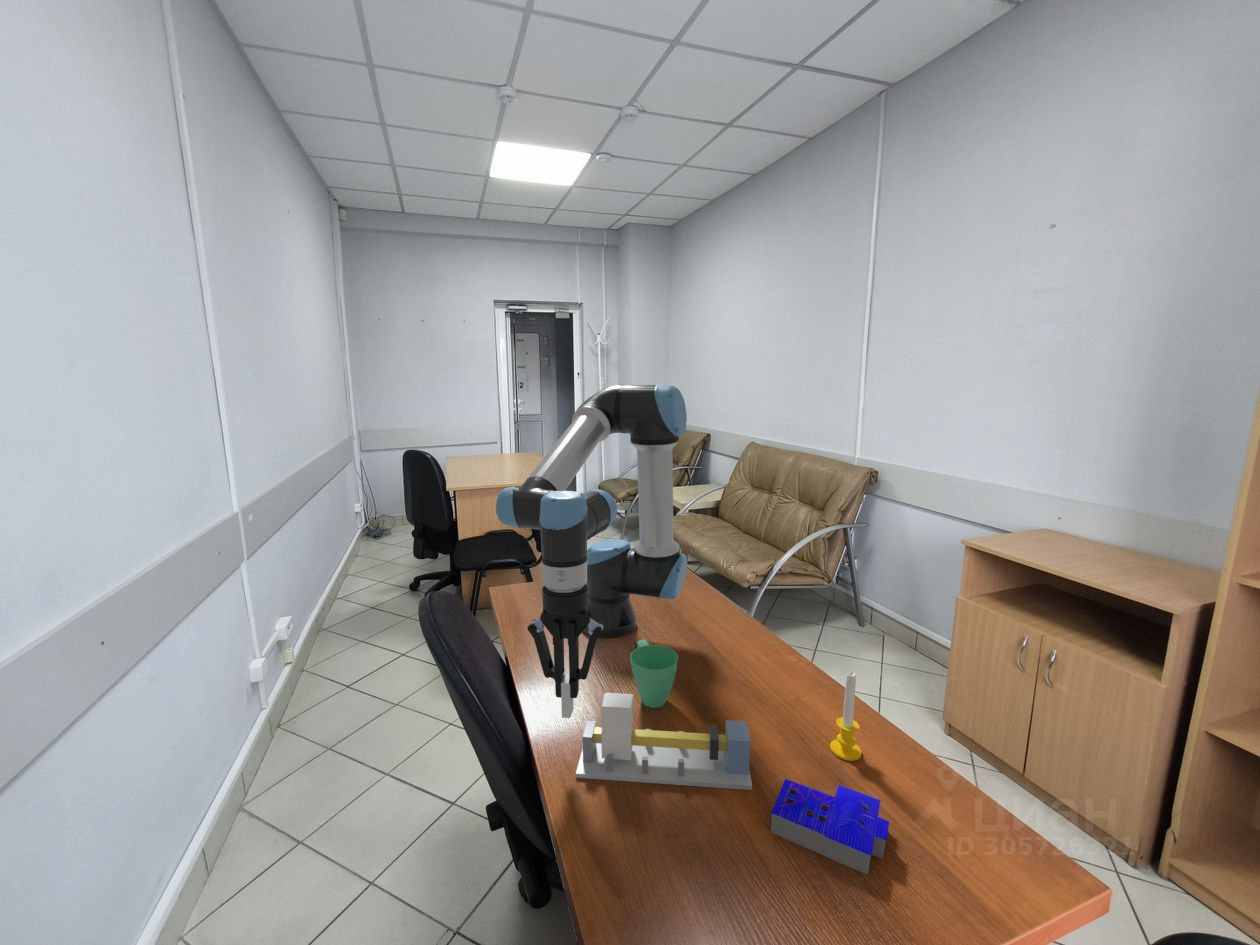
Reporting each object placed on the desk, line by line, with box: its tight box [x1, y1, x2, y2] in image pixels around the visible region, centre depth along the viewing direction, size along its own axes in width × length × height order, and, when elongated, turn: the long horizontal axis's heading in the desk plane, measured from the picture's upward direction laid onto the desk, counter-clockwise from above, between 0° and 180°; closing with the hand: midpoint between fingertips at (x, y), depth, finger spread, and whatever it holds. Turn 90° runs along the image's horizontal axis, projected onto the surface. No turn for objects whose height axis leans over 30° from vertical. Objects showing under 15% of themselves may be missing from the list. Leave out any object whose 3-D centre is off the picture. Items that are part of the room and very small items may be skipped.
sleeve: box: [601, 692, 634, 760], centre depth 92 cm, size 5×5×9 cm
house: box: [770, 778, 890, 876], centre depth 78 cm, size 11×15×5 cm
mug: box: [629, 639, 679, 709], centre depth 111 cm, size 15×10×10 cm
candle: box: [829, 670, 863, 762], centre depth 94 cm, size 5×5×16 cm
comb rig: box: [575, 719, 753, 791], centre depth 91 cm, size 29×10×7 cm, turn 85°
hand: (567, 712), depth 92 cm, fingers closed
